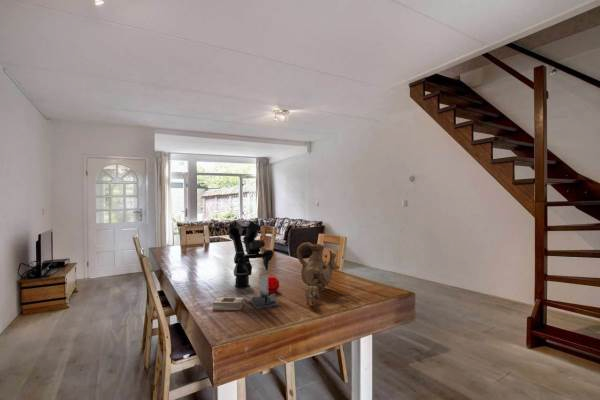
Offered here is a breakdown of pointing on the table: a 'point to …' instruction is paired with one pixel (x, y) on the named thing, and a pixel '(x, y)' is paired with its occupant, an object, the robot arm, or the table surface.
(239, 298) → the block with rectangular hole
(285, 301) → the table surface
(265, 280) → the axle
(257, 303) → the V-block
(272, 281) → the ball
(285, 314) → the table surface
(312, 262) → the ceramic vessel
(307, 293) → the lion figurine
